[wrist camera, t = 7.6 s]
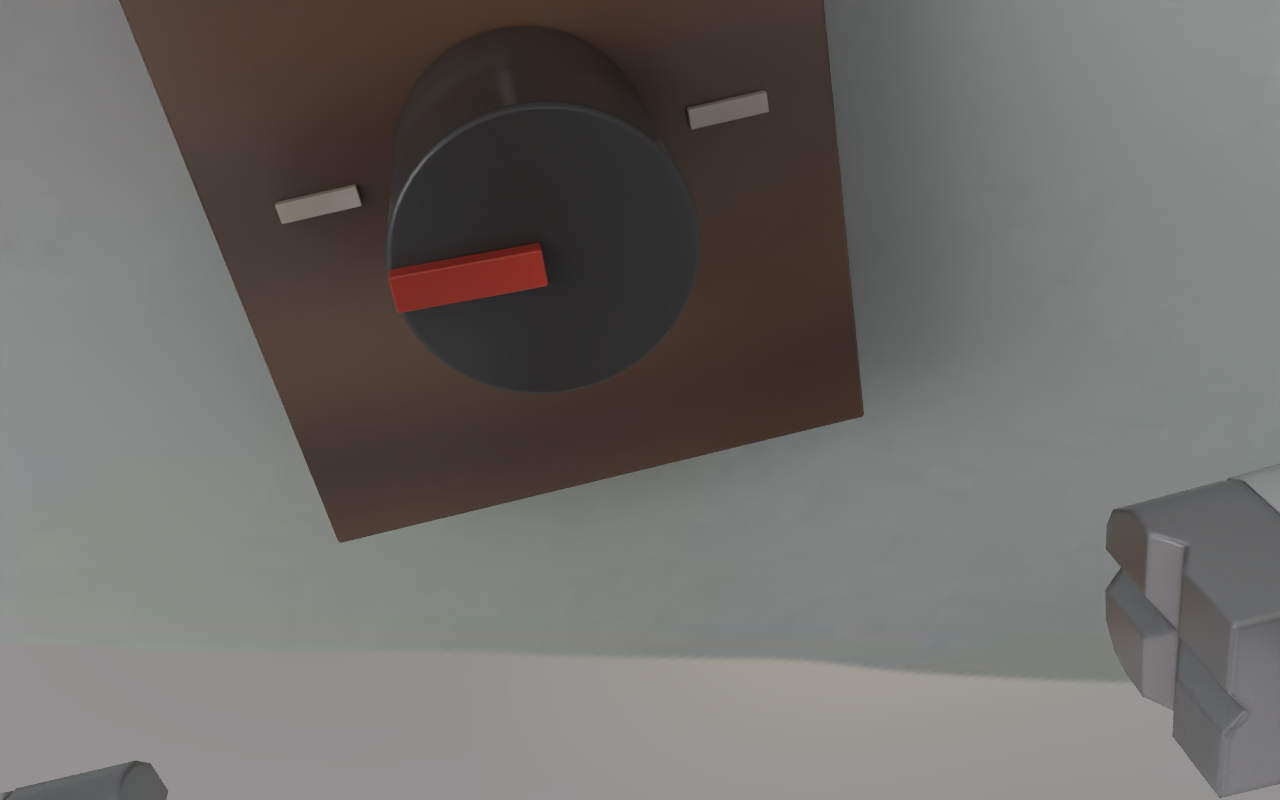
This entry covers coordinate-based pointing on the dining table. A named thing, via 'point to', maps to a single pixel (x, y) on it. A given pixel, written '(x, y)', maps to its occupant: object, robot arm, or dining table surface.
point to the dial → (536, 215)
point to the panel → (357, 227)
